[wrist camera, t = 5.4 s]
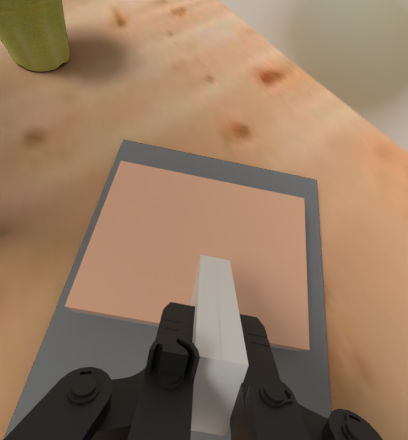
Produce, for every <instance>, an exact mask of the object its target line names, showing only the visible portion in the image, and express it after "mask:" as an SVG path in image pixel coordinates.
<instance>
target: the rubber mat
mask: <svg viewBox="0 0 408 440" xmlns="http://www.w3.org/2000/svg"><path fill="white" fill-rule="evenodd" d="M121 161H125V162H130V163H135V164H140V165H145V166H150V167H155V168H159V169H164V170H169V171H174V172H179V173H184V174H189V175H194V176H199V177H203V178H208V179H213V180H218V181H223V182H228V183H233V184H238V185H242V186H247V187H252V188H257V189H262V190H267V191H272V192H277V193H282V194H286V195H291V196H296V197H301V198H304V203H305V232H306V261H307V290H308V319H309V348H310V350H302V351H291V350H285V349H280V348H274V347H270V348H271V350H272V353H273V357H274V360H275V363H276V367H277V370H278V373H279V377H280V380H281V381H282V382H283V383H285V384H286V385H287V386H288V387H289V388H290V390H291V391H292V392H293V394H294V396H295V398H296V400H297V402H298V403H299V404H300V405H302V406H304V407H305V408H307V409H309V410H311V411H313V412H315V413H317V414H320V415H322V416H324V417H326V418H329V416H330V414H331V397H330V381H329V365H328V349H327V334H326V318H325V302H324V286H323V270H322V255H321V239H320V223H319V207H318V191H317V180H315V179H310V178H305V177H300V176H296V175H291V174H286V173H281V172H276V171H272V170H267V169H262V168H257V167H252V166H247V165H243V164H238V163H233V162H228V161H223V160H219V159H214V158H209V157H204V156H199V155H195V154H190V153H185V152H180V151H175V150H171V149H166V148H161V147H156V146H151V145H147V144H142V143H137V142H132V141H127V140H123V142H122V145H121V147H120V150H119V152H118V155H117V157H116V159H115V162H114V164H113V167H112V169H111V172H110V174H109V177H108V179H107V182H106V184H105V187H104V189H103V192H102V194H101V197H100V199H99V202H98V204H97V207H96V209H95V212H94V214H93V217H92V219H91V222H90V224H89V227H88V229H87V232H86V234H85V237H84V239H83V242H82V244H81V247H80V249H79V252H78V254H77V257H76V259H75V262H74V264H73V267H72V269H71V272H70V274H69V277H68V279H67V282H66V284H65V287H64V289H63V292H62V294H61V297H60V299H59V302H58V304H57V307H56V309H55V312H54V314H53V317H52V319H51V322H50V324H49V327H48V329H47V332H46V334H45V337H44V339H43V342H42V344H41V347H40V349H39V352H38V354H37V357H36V359H35V362H34V364H33V367H32V369H31V372H30V374H29V377H28V379H27V382H26V384H25V387H24V389H23V392H22V394H21V397H20V399H19V402H18V404H17V407H16V409H15V412H14V414H13V417H12V419H11V422H10V424H9V427H8V429H7V432H6V434H5V437H6V436H7V435H8V434H9V433H10V432H11V431H12V430H13V429H14V428H15V427H16V426H17V425H18V424H19V423H20V422H21V420H22V419H23V418H24V417H25V416H26V415H27V414H28V413H29V412H30V411H31V410H32V409H33V408H34V407H35V406H36V405H37V403H38V402H39V401H40V400H41V399H42V398H43V397H44V396H45V395H46V394H47V393H48V392H49V391H50V390H51V389H52V388H53V387H54V385H55V384H56V383H57V382H58V381H59V380H60V379H61V378H63V377H64V376H65V375H67V374H68V373H69V372H71V371H74V370H76V369H79V368H84V367H95V368H99V369H102V370H103V371H105V372H106V373H108V375H109V376H110V378H111V380H112V379H120V378H126V377H131V376H133V375H135V374H138V373H139V372H140V371H142V370H143V369H144V368H145V367H146V365H147V360H148V354H149V349H150V347H151V345H152V343H153V342H154V341H155V339H156V335H157V331H158V328H159V327H155V326H150V325H144V324H138V323H133V322H127V321H121V320H116V319H110V318H104V317H99V316H93V315H87V314H82V313H76V312H74V311H72V310H70V309H68V308H66V307H65V304H66V301H67V299H68V296H69V293H70V291H71V288H72V286H73V283H74V281H75V278H76V275H77V273H78V270H79V268H80V265H81V262H82V260H83V257H84V255H85V252H86V250H87V247H88V244H89V242H90V239H91V237H92V234H93V231H94V229H95V226H96V224H97V221H98V219H99V216H100V213H101V211H102V208H103V206H104V203H105V200H106V198H107V195H108V193H109V190H110V188H111V185H112V182H113V180H114V177H115V175H116V172H117V169H118V167H119V164H120V162H121ZM5 437H4V438H5ZM3 440H4V439H3ZM190 440H231V430H230V425H229V428H228V431H227V434H226V436H222V435H216V434H210V433H204V432H198V431H192V430H191V439H190Z"/></svg>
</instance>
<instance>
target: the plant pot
mask: <svg viewBox="0 0 408 440" xmlns="http://www.w3.org/2000/svg"><path fill="white" fill-rule="evenodd" d="M0 40H1V41H2V43H3V44H4V46H5V47H6V49H7V50H8V52H9V54H10V55H11V57H12V58H13V60H14V61H15V62H16V63H17V64H20V65H21V66H23V67H24V68H26V69H27V70H31V71H51V70H55V69H57V68H58V67H59V66H60V65H61V64H62V63H67V62H68V60H69V58H70V51H69V44H68V38H67V33H66V26H65V20H64V13H63V6H62V0H0Z"/></svg>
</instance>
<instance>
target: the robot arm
mask: <svg viewBox="0 0 408 440" xmlns="http://www.w3.org/2000/svg"><path fill="white" fill-rule="evenodd" d="M229 425H230V430H231V440H382V438H381V437H380V436H379V434H378V433H377V432H376V431H375V430H374V429H373V428H372V426H371V425H370V424H369V423H368V422H366V421H365V420H364V419H362V418H361V417H360V416H358V415H357V414H355V413H352V412H350V411H348V410H342V409H337V410H334V411H332V412H331V414H330V416H329V418H326V417H324V416H322V415H320V414H317V413H315V412H313V411H311V410H309V409H307V408H305V407H304V406H302V405H300V404H299V403H298V402H297V400H296V398H295V396H294V394H293V392H292V391H291V390H290V388H289V387H288V386H287V385H286V384H285V383H283V382H282V381H281V380H280V377H279V373H278V370H277V367H276V363H275V360H274V357H273V353H272V350H271V348H270V343H269V340H268V339H267V333H266V330H265V327H264V325H263V324H262V323H261V322H260V320H259V319H258V318H257V317H253V316H248V315H243V314H239V308H238V303H237V297H236V292H235V286H234V281H233V275H232V269H231V264H230V260H225V259H220V258H215V257H210V256H205V255H201V256H200V261H199V265H198V270H197V274H196V279H195V283H194V288H193V292H192V297H191V302H190V305H185V304H179V303H174V302H170V303H169V304H168V305H167V306H166V307H165V308H164V309H163V312H162V316H161V320H160V323H159V328H158V331H157V335H156V339H155V341H154V342H153V343H152V345H151V347H150V349H149V354H148V360H147V365H146V367H145V368H144V369H143V370H142V371H140V372H139V373H138V374H135V375H133V376H131V377H126V378H120V379H112V380H111V378H110V376H109V375H108V373H106V372H105V371H103V370H102V369H99V368H95V367H84V368H79V369H76V370H74V371H71V372H69V373H68V374H67V375H65V376H64V377H63V378H61V379H60V380H59V381H58V382H57V383H56V384H55V385H54V387H53V388H52V389H51V390H50V391H49V392H48V393H47V394H46V395H45V396H44V397H43V398H42V399H41V400H40V401H39V402H38V403H37V405H36V406H35V407H34V408H33V409H32V410H31V411H30V412H29V413H28V414H27V415H26V416H25V417H24V418H23V419H22V420H21V422H20V423H19V424H18V425H17V426H16V427H15V428H14V429H13V430H12V431H11V432H10V433H9V434H8V435H7V436H6V437H5V438H4V440H190V439H191V430H192V431H198V432H204V433H210V434H216V435H222V436H226V434H227V431H228V428H229Z"/></svg>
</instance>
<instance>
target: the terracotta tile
mask: <svg viewBox="0 0 408 440" xmlns="http://www.w3.org/2000/svg"><path fill="white" fill-rule="evenodd" d="M201 255H205V256H210V257H215V258H220V259H225V260H230V264H231V269H232V275H233V281H234V286H235V292H236V297H237V303H238V308H239V314H243V315H248V316H253V317H257V318H258V319H259V320H260V322H261V323H262V324H263V325H264V327H265V330H266V333H267V339H268V340H269V343H270V347H274V348H280V349H285V350H291V351H302V350H310V348H309V319H308V290H307V261H306V232H305V203H304V198H301V197H296V196H291V195H286V194H282V193H277V192H272V191H267V190H262V189H257V188H252V187H247V186H242V185H238V184H233V183H228V182H223V181H218V180H213V179H208V178H203V177H199V176H194V175H189V174H184V173H179V172H174V171H169V170H164V169H159V168H155V167H150V166H145V165H140V164H135V163H130V162H125V161H121V162H120V164H119V167H118V169H117V172H116V175H115V177H114V180H113V182H112V185H111V188H110V190H109V193H108V195H107V198H106V200H105V203H104V206H103V208H102V211H101V213H100V216H99V219H98V221H97V224H96V226H95V229H94V231H93V234H92V237H91V239H90V242H89V244H88V247H87V250H86V252H85V255H84V257H83V260H82V262H81V265H80V268H79V270H78V273H77V275H76V278H75V281H74V283H73V286H72V288H71V291H70V293H69V296H68V299H67V301H66V304H65V307H66V308H68V309H70V310H72V311H74V312H76V313H82V314H87V315H93V316H99V317H104V318H110V319H116V320H121V321H127V322H133V323H138V324H144V325H150V326H155V327H159V323H160V320H161V316H162V312H163V309H164V308H165V307H166V306H167V305H168V304H169V303H170V302H174V303H179V304H185V305H190V302H191V297H192V292H193V288H194V283H195V279H196V274H197V270H198V265H199V261H200V256H201Z"/></svg>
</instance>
